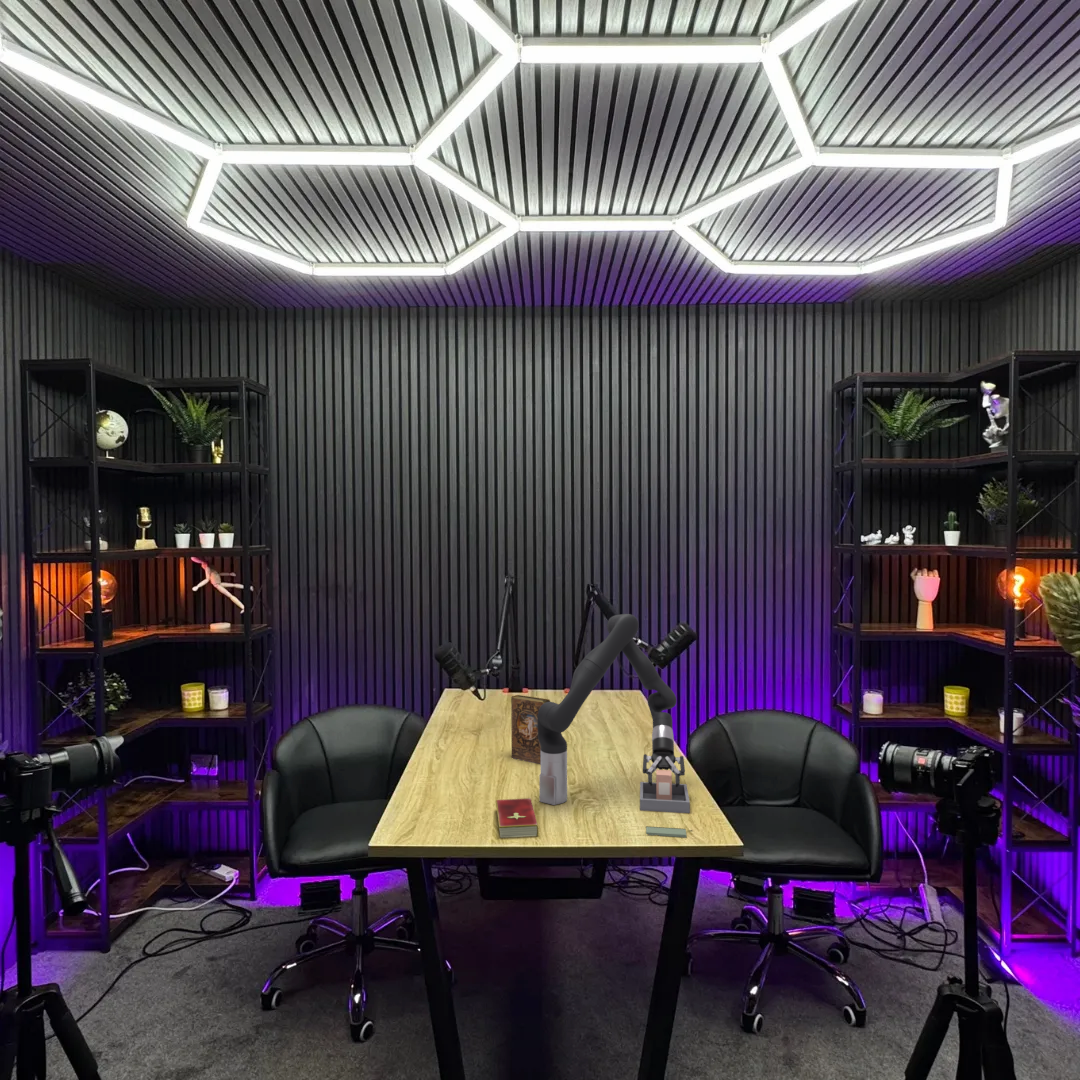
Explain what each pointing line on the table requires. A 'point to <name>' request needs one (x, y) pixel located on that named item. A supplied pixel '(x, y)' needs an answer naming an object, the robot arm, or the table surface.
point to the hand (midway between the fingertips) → (664, 785)
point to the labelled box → (663, 784)
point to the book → (525, 728)
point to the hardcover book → (516, 818)
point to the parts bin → (675, 805)
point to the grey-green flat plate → (666, 831)
